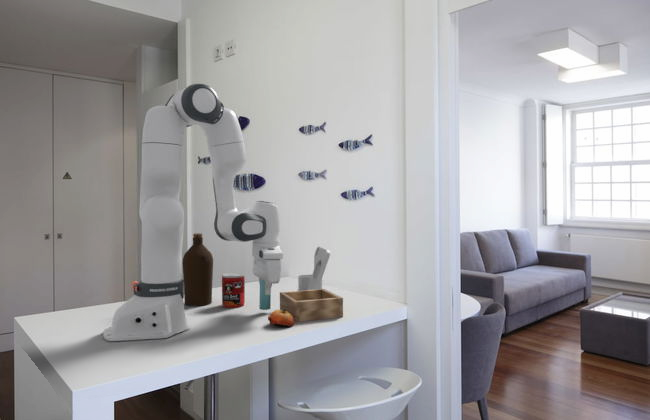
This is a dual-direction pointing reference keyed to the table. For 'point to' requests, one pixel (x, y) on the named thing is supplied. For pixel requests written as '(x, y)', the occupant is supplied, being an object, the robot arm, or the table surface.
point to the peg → (264, 297)
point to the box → (311, 304)
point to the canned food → (233, 290)
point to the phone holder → (315, 271)
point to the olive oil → (197, 273)
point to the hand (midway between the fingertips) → (265, 292)
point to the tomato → (281, 318)
